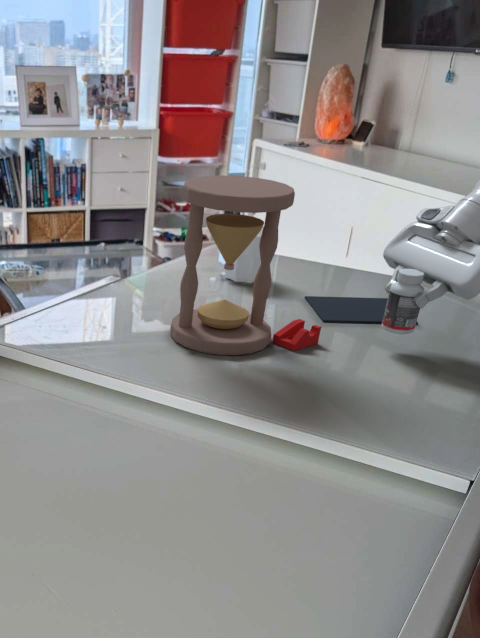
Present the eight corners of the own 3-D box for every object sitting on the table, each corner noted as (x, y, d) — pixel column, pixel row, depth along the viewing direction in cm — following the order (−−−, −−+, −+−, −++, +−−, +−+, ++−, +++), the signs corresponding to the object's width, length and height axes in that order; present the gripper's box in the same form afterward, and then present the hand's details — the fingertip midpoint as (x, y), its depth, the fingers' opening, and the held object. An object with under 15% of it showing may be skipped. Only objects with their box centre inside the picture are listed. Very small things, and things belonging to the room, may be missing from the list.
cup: (276, 280, 163) (284, 233, 157) (241, 287, 158) (248, 238, 153) (245, 268, 170) (252, 222, 164) (211, 274, 165) (216, 227, 160)
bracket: (296, 335, 136) (299, 318, 134) (317, 343, 133) (321, 326, 131) (272, 342, 132) (275, 325, 131) (293, 351, 129) (296, 334, 128)
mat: (391, 300, 154) (392, 298, 154) (417, 324, 143) (418, 322, 142) (304, 298, 154) (304, 296, 153) (323, 322, 142) (323, 320, 142)
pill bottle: (377, 323, 132) (391, 266, 126) (409, 324, 131) (424, 267, 126) (384, 334, 127) (399, 276, 122) (417, 336, 127) (433, 277, 121)
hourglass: (261, 321, 141) (284, 177, 127) (278, 358, 127) (306, 199, 113) (166, 317, 141) (179, 173, 127) (172, 353, 126) (187, 195, 113)
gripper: (521, 264, 118) (453, 331, 120) (428, 231, 133) (371, 292, 136) (509, 236, 114) (439, 306, 116) (415, 206, 129) (355, 269, 132)
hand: (401, 298), depth 126 cm, fingers closed on pill bottle, 5 cm apart
